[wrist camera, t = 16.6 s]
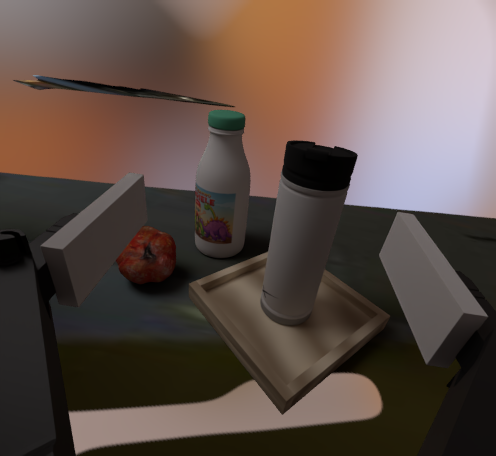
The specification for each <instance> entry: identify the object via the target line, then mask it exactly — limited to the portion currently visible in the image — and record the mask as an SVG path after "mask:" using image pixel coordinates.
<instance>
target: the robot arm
mask: <svg viewBox="0 0 496 456" xmlns="http://www.w3.org/2000/svg"><path fill="white" fill-rule="evenodd" d="M146 221H147V210H146V198H145V186H144V176H143V175H142V174H135V173H128V174H127V175H126V176H124V177H123V178H122V179H121V180H120V181H118V182H117V183H116V184H115V185H114V186H112V187H111V188H110V189H109V190H107V191H106V192H105V193H104V194H103V195H101V196H100V197H99V198H98V199H97V200H95V201H94V202H93V203H92V204H90V205H89V206H88V207H87V208H86V209H84V210H83V211H82V212H81V213H80V214H76V213H73V214H71V215H68V216H66V217H63V218H61V219H60V220H59V221H58V222H56V223H55V224H54V225H53V226H51V227H50V228H49V229H47V230H46V232H44V233H42V234H41V235H40V236H38V237H37V238H36V239H35V240H33V241H32V242H31V243H29V244H28V241H27V238H26V235H25V234H24V232H23V231H20V230H17V229H4V230H0V456H76V454H75V449H74V442H73V436H72V431H71V425H70V419H69V413H68V407H67V401H66V395H65V389H64V383H63V377H62V371H61V365H60V359H59V354H58V348H57V342H56V336H55V330H54V324H53V318H52V312H51V306H50V304H49V300H50V298H51V297H52V296H53V295H54V294H55V293H56V296H57V299H58V302H59V304H61V305H67V306H73V307H79V306H80V305H81V304H82V302H83V301H84V300H85V299H86V297H87V296H88V295H89V294H90V292H91V291H92V290H93V288H94V287H95V286H96V285H97V283H98V282H99V281H100V280H101V278H102V277H103V276H104V274H105V273H106V272H107V271H108V269H109V268H110V267H111V266H112V264H113V263H114V262H115V260H116V259H117V258H118V257H119V255H120V254H121V253H122V252H123V250H124V249H125V248H126V247H127V245H128V244H129V243H130V241H131V240H132V239H133V238H134V236H135V235H136V234H137V233H138V231H139V230H140V229H141V227H142V226H143V225H144V224H145V222H146ZM379 256H380V259H381V261H382V263H383V266H384V268H385V270H386V272H387V275H388V277H389V279H390V282H391V284H392V286H393V289H394V291H395V293H396V296H397V298H398V300H399V302H400V305H401V307H402V309H403V312H404V314H405V316H406V319H407V321H408V323H409V326H410V328H411V330H412V333H413V335H414V337H415V339H416V342H417V344H418V346H419V349H420V351H421V353H422V356H423V358H424V360H425V363H426V365H431V366H437V367H443V368H448V367H449V366H450V365H451V363H452V362H453V361H454V360H455V358H456V359H457V360H458V362H459V364H460V366H461V369H460V370H459V371H458V372H457V374H456V375H455V376H454V377H453V378H452V380H451V381H450V382H449V383H448V384H447V387H449V390H448V392H447V394H446V396H445V399H444V401H443V403H442V405H441V407H440V409H439V411H438V413H437V415H436V417H435V419H434V422H433V424H432V426H431V428H430V430H429V432H428V434H427V436H426V438H425V440H424V443H423V445H422V447H421V449H420V451H419V453H418V455H417V456H496V311H495V310H494V309H493V307H492V306H491V305H490V304H489V302H488V301H487V300H485V297H484V296H483V295H482V293H481V292H479V289H478V288H477V287H476V286H475V284H474V283H473V282H472V280H470V279H469V278H468V277H466V276H465V275H464V274H463V273H461V272H460V271H454V269H453V268H452V267H451V265H450V264H449V262H448V261H447V260H446V258H445V257H444V256H443V254H442V253H441V252H440V250H439V249H438V248H437V246H436V245H435V243H434V242H433V241H432V239H431V238H430V237H429V235H428V234H427V233H426V231H425V230H424V228H423V227H422V226H421V224H420V223H419V222H418V220H417V219H416V218H415V216H414V215H413V214H407V213H400V212H398V213H397V215H396V218H395V220H394V222H393V225H392V227H391V229H390V231H389V234H388V236H387V238H386V241H385V243H384V245H383V248H382V250H381V252H380V254H379Z"/></svg>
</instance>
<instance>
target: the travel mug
mask: <svg viewBox="0 0 496 456" xmlns="http://www.w3.org/2000/svg"><path fill="white" fill-rule="evenodd" d="M357 156H358V155H357V154H356V153H355V152H353V151H350V150H347V149H344V148H340V147H336V146H335V147H334V148H330V147H325V146H320V145H315V142H309V141H288V142H287V144H286V150H285V157H284V165H283V169H282V172H281V179H280V183H279V189H278V196H277V201H276V208H275V214H274V220H273V226H272V232H271V238H270V244H269V250H268V256H267V262H266V269H265V275H264V281H263V287H262V293H261V299H260V304H261V308H262V310H263V312H264V313H265V314H266V315H267V316H268V317H269V318H270V319H272V320H273V321H275V322H277V323H280V324H283V325H298V324H301V323H303V322H305V321H306V320H308V318H309V317H310V315H311V313H312V310H313V306H314V303H315V299H316V296H317V293H318V289H319V286H320V283H321V279H322V276H323V273H324V269H325V266H326V263H327V259H328V256H329V253H330V249H331V246H332V242H333V239H334V236H335V232H336V229H337V226H338V222H339V219H340V216H341V212H342V209H343V206H344V202H345V199H346V195H347V191H348V188H349V186H350V180H351V175H352V173H353V170H354V166H355V163H356V160H357Z"/></svg>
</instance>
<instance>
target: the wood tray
mask: <svg viewBox="0 0 496 456" xmlns="http://www.w3.org/2000/svg"><path fill="white" fill-rule="evenodd" d="M267 256H268V252H266V253H264V254H261V255H259V256H256V257H254V258H251V259H249V260H246V261H244V262H241V263H239V264H236V265H234V266H231V267H229V268H227V269H224V270H222V271H219V272H217V273H214V274H212V275H209V276H207V277H204V278H202V279H199V280H197V281H194V282H192V283H189V298H190V299H191V300H192V301H193V303H194V304H195V305H196V306H197V308H198V309H199V310H200V312H201V313H202V314H203V315H204V317H205V318H206V319H207V320H208V322H209V323H210V324H211V325H212V327H213V328H214V329H215V330H216V332H217V333H218V334H219V336H220V337H221V338H222V339H223V341H224V342H225V343H226V344H227V346H228V347H229V348H230V349H231V351H232V352H233V353H234V354H235V356H236V357H237V358H238V360H239V361H240V362H241V363H242V365H243V366H244V367H245V368H246V370H247V371H248V372H249V373H250V375H251V376H252V377H253V378H254V380H255V381H256V382H257V383H258V385H259V386H260V387H261V388H262V390H263V391H264V392H265V393H266V395H267V396H268V397H269V399H270V400H271V401H272V402H273V404H274V405H275V406H276V407H277V409H278V410H279V411H280V413H281V414H284V413H285V412H286V411H287V410H289V409H290V408H291V407H292V406H293V405H295V404H296V403H297V402H298V401H299V400H300V399H302V397H304V396H305V395H306V394H308V393H309V392H310V391H311V390H312V389H313V388H314V387H316V386H317V385H318V384H319V383H321V382H322V381H323V380H324V379H325V378H326V377H328V376H329V375H330V374H331V373H332V372H333V371H335V370H336V369H337V368H338V367H339V366H341V365H342V364H343V363H344V362H345V361H346V360H348V359H349V358H350V357H351V356H352V355H354V354H355V353H356V352H357V351H358V350H359V349H361V348H362V347H363V346H364V345H365V344H367V343H368V342H369V341H370V340H371V339H372V338H374V337H375V336H376V335H377V334H378V333H380V332H381V331H382V330H383V329H384V328H385V326H386V324H387V322H388V320H389V318H390V315H388V314H387V313H385V312H384V311H383V310H381V309H380V308H378V307H377V306H376V305H374V304H373V303H371V302H370V301H369V300H367V299H366V298H364V297H363V296H362V295H360V294H359V293H357V292H356V291H355V290H353V289H352V288H350V287H349V286H348V285H346V284H345V283H343V282H342V281H341V280H339V279H338V278H336V277H335V276H334V275H332V274H331V273H329V272H328V271H327V270H325V269H324V273H323V276H322V279H321V283H320V286H319V289H318V293H317V296H316V299H315V303H314V306H313V310H312V313H311V315H310V317H309V318H308V320H306V321H305V322H303V323H301V324H298V325H283V324H280V323H277V322H275V321H273V320H272V319H270V318H269V317H268V316H267V315H266V314H265V313H264V312H263V310H262V308H261V304H260V299H261V293H262V287H263V281H264V275H265V269H266V262H267Z"/></svg>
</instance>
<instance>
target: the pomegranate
mask: <svg viewBox="0 0 496 456" xmlns="http://www.w3.org/2000/svg"><path fill="white" fill-rule="evenodd" d="M116 261H117V263H118V265H119V270H120V273H121V274H122V275H123V276H124V277H126V278H127V279H128V280H130V281H132V282H134V283H138V284H144V283H147V282H161V281H163V280H165V279H166V278H167V277H169V276H170V275H171V274H172V272H173V270H174V268H175V263H176V245H175V242H174V240H173V238H172V237H171V236H170V235H169V234H167V233H165V232H160V231H159V230H157V229H154V228H153V227H149V226H142V227H141V229H140V230H139V231H138V233H137V234H136V235H135V236H134V238H133V239H132V240H131V241H130V243H129V244H128V245H127V247H126V248H125V249H124V250H123V252H122V253H121V254H120V255H119V257H118V258H117V259H116Z"/></svg>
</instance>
